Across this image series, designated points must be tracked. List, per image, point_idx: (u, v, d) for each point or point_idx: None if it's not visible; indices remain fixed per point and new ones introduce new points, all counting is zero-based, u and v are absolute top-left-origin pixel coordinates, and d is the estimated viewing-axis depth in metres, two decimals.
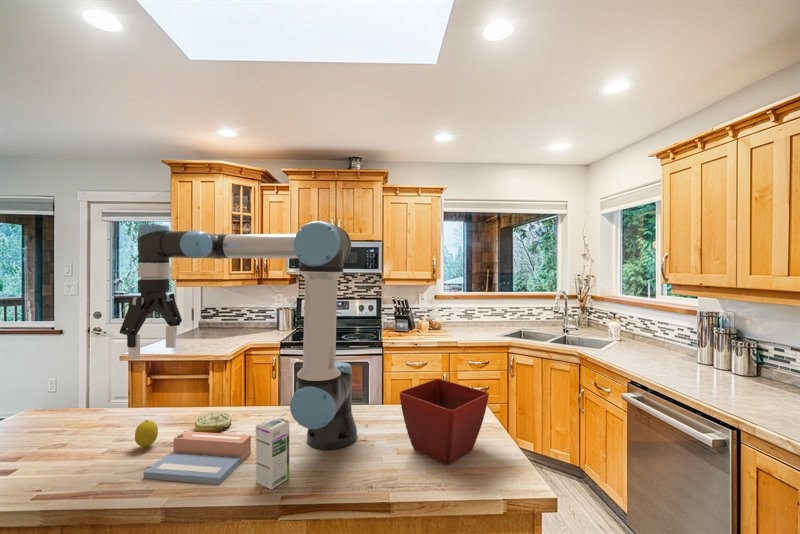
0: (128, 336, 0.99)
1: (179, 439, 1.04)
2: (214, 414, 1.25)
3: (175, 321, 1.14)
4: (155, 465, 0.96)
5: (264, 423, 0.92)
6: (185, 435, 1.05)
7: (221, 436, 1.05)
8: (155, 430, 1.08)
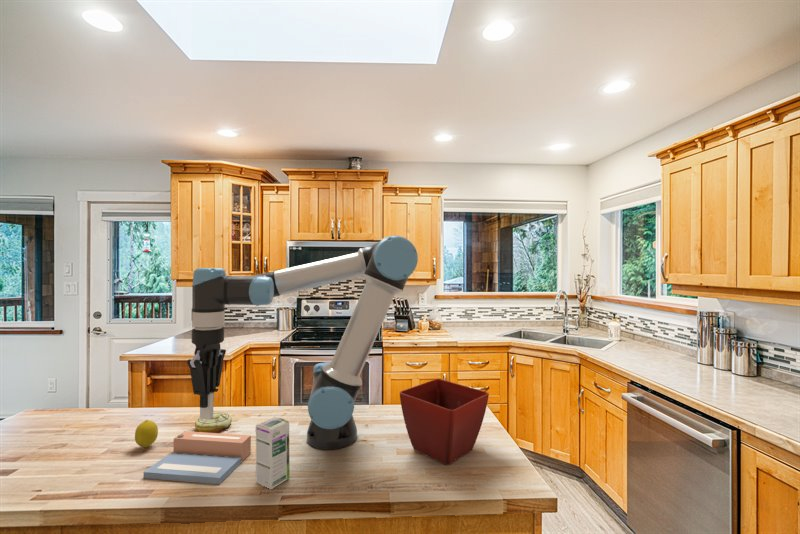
0: (201, 396, 0.96)
1: (179, 439, 1.04)
2: (214, 414, 1.25)
3: (214, 385, 0.99)
4: (155, 465, 0.96)
5: (264, 423, 0.92)
6: (185, 435, 1.05)
7: (221, 436, 1.05)
8: (155, 430, 1.08)
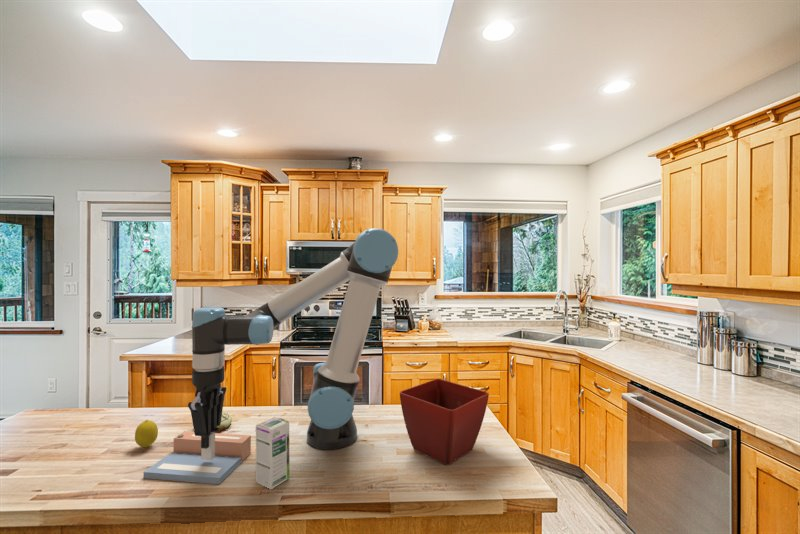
0: (202, 437, 0.96)
1: (179, 439, 1.04)
2: None
3: (215, 425, 0.99)
4: (155, 465, 0.96)
5: (264, 423, 0.92)
6: (185, 435, 1.05)
7: (221, 436, 1.05)
8: (155, 430, 1.08)
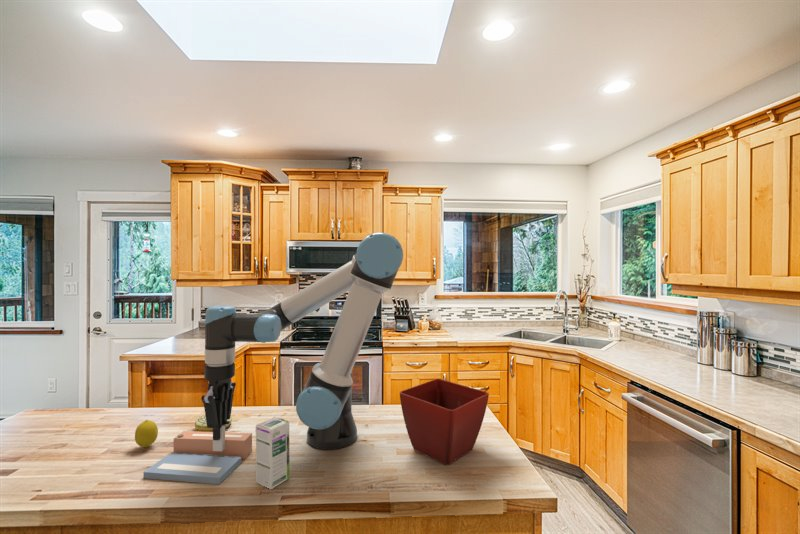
0: (214, 429, 1.01)
1: (179, 439, 1.04)
2: None
3: (226, 418, 1.04)
4: (155, 465, 0.96)
5: (264, 423, 0.92)
6: (185, 435, 1.06)
7: None
8: (155, 430, 1.08)
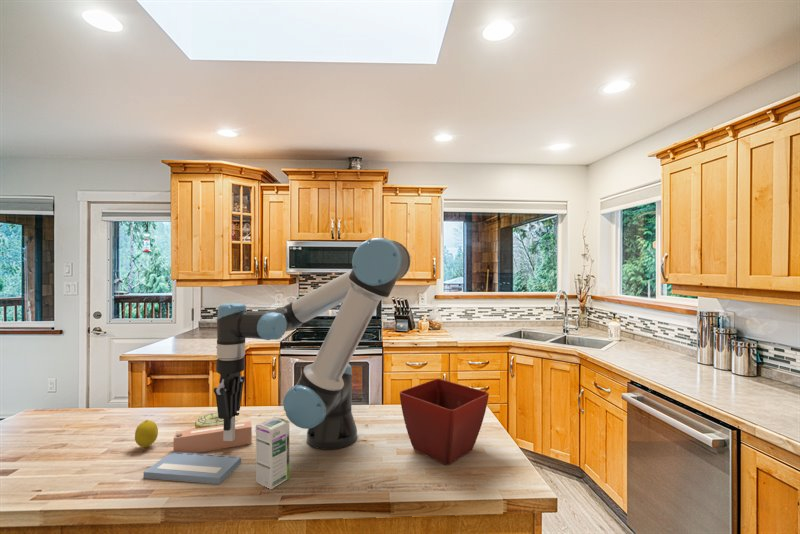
0: (225, 420, 1.06)
1: (180, 438, 1.04)
2: (214, 414, 1.25)
3: (236, 410, 1.09)
4: (155, 465, 0.96)
5: (264, 423, 0.92)
6: (183, 434, 1.06)
7: (223, 427, 1.11)
8: (155, 430, 1.08)
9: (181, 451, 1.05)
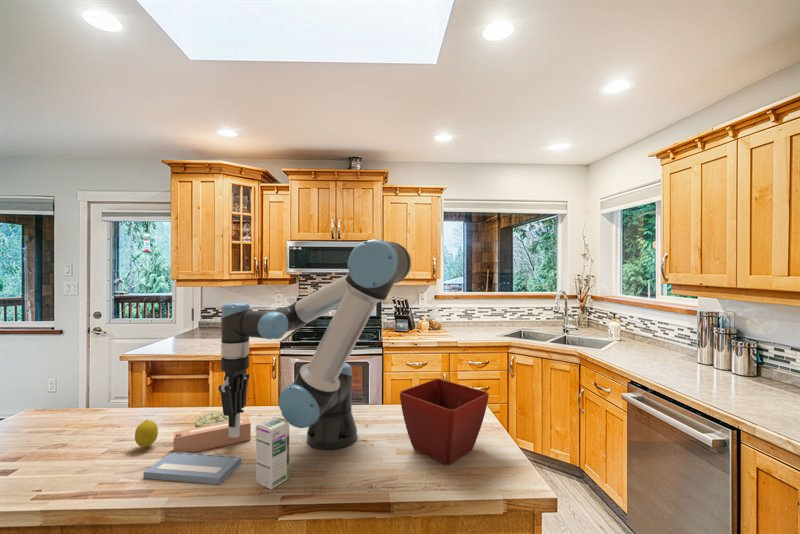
0: (229, 417, 1.09)
1: (180, 437, 1.05)
2: (214, 414, 1.25)
3: (240, 407, 1.12)
4: (155, 465, 0.96)
5: (264, 423, 0.92)
6: (182, 433, 1.06)
7: (221, 425, 1.12)
8: (155, 430, 1.08)
9: (181, 451, 1.05)
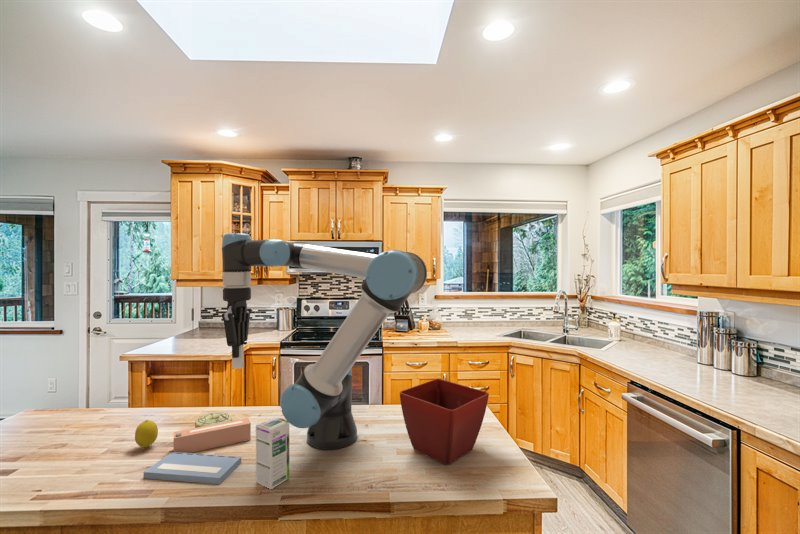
0: (233, 347, 1.08)
1: (180, 437, 1.05)
2: (214, 414, 1.25)
3: (243, 339, 1.11)
4: (155, 465, 0.96)
5: (264, 423, 0.92)
6: (182, 433, 1.06)
7: (221, 425, 1.12)
8: (155, 430, 1.08)
9: (181, 451, 1.05)
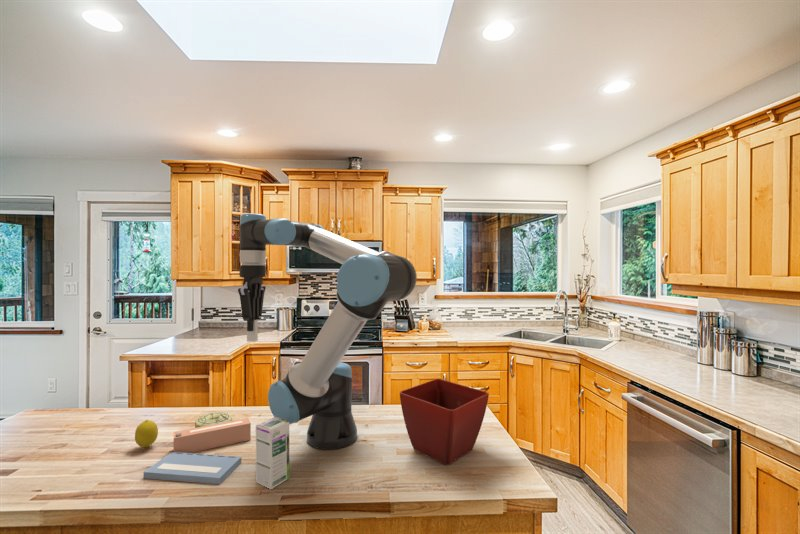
0: (248, 321, 1.14)
1: (180, 437, 1.05)
2: (214, 414, 1.25)
3: (258, 314, 1.17)
4: (155, 465, 0.96)
5: (264, 423, 0.92)
6: (182, 433, 1.06)
7: (221, 425, 1.12)
8: (155, 430, 1.08)
9: (181, 451, 1.05)
